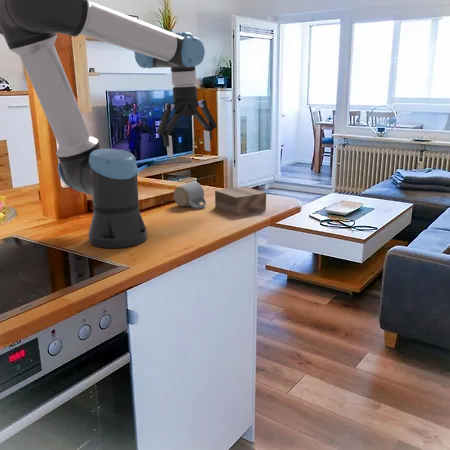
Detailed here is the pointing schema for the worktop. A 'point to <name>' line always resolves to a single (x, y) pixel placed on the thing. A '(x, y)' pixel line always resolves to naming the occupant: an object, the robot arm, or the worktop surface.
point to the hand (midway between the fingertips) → (189, 153)
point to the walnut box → (240, 200)
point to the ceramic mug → (190, 195)
